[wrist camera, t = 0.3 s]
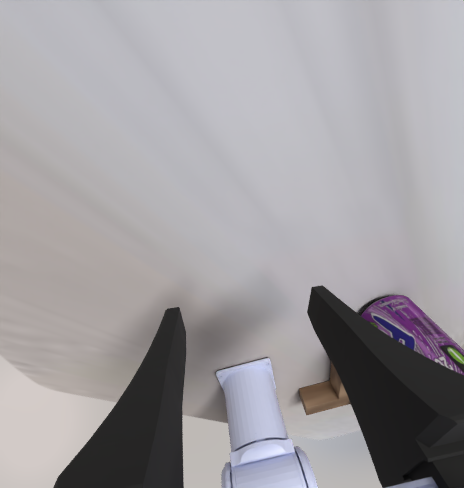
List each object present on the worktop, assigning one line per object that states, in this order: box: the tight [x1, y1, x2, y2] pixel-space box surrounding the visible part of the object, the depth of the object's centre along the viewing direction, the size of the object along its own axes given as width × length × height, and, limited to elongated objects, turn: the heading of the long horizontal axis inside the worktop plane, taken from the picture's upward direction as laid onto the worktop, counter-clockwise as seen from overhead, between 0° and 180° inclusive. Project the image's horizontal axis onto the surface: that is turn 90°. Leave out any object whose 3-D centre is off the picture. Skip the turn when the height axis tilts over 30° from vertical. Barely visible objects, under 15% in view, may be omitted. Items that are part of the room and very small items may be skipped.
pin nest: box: [299, 362, 351, 415], centre depth 36 cm, size 14×24×5 cm, turn 102°
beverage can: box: [361, 295, 464, 375], centre depth 26 cm, size 7×7×12 cm
